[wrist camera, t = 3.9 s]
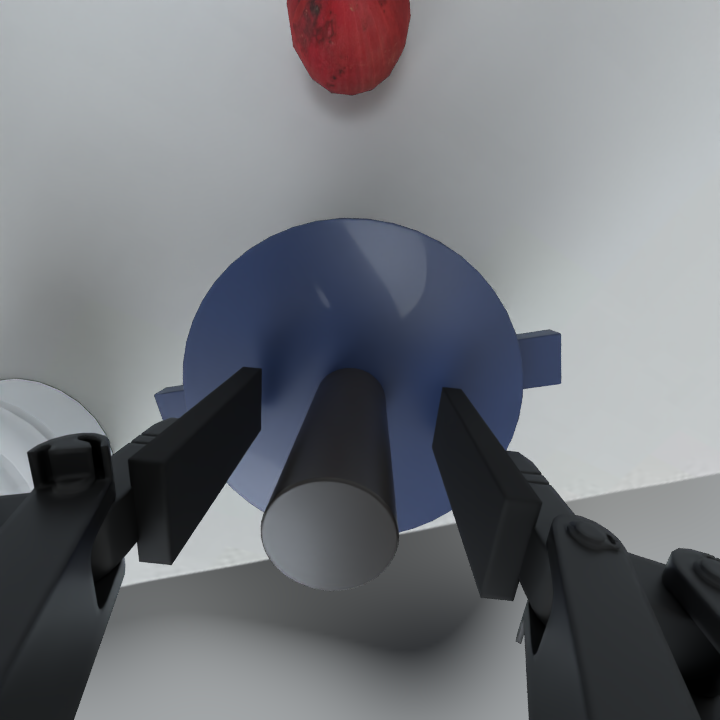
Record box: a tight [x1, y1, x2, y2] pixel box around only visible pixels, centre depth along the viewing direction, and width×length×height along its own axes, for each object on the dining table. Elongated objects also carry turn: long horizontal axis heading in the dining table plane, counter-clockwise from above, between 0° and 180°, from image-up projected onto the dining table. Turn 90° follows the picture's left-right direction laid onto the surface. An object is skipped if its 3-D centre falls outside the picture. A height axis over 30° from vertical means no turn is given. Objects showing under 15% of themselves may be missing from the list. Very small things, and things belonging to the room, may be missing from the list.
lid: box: [183, 218, 523, 591], centre depth 11 cm, size 15×15×9 cm
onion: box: [287, 0, 411, 95], centre depth 16 cm, size 6×6×8 cm
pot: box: [154, 330, 561, 420], centre depth 20 cm, size 14×19×10 cm
